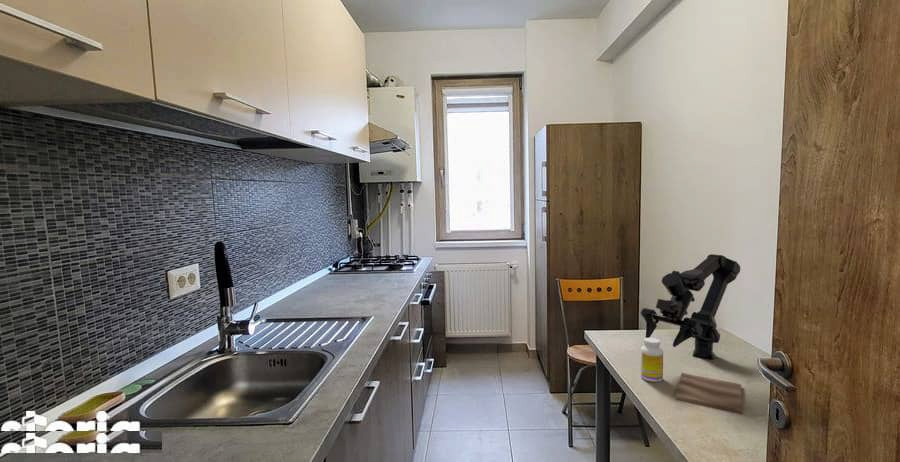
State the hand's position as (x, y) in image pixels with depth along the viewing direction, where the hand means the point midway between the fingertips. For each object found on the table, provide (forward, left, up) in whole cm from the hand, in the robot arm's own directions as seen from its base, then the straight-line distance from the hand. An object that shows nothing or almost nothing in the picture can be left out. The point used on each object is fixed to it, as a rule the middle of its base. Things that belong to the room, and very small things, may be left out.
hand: (659, 342), depth 137 cm
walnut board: (+6, +14, -11) cm, 19 cm away
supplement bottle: (+4, -2, -11) cm, 12 cm away
